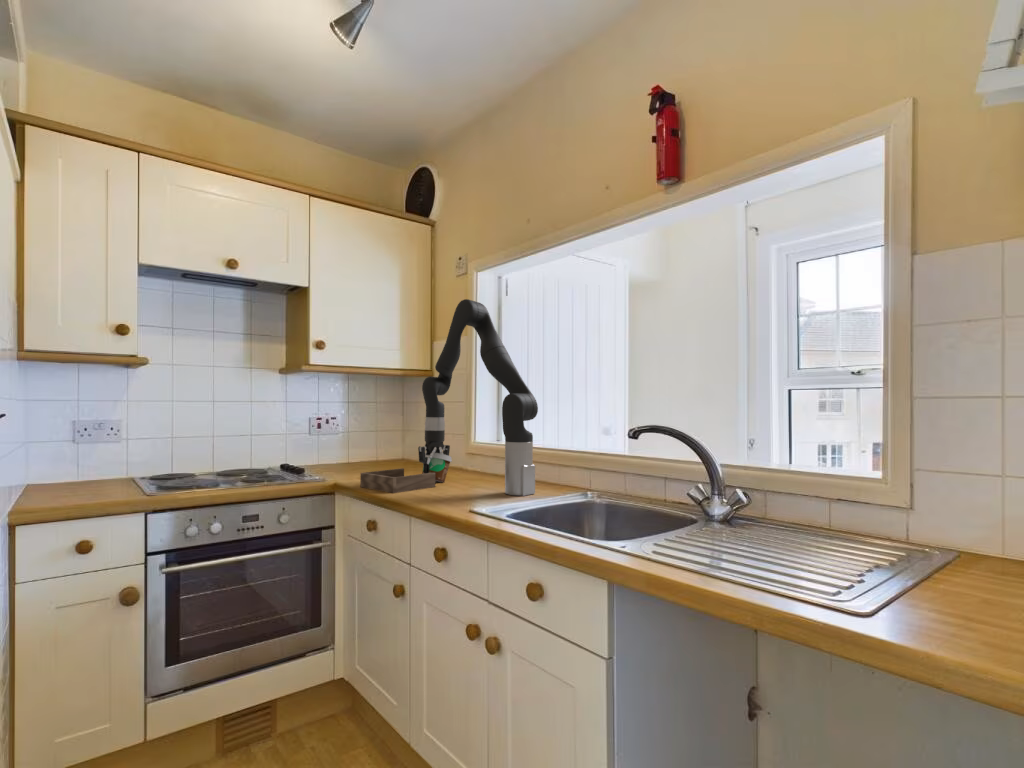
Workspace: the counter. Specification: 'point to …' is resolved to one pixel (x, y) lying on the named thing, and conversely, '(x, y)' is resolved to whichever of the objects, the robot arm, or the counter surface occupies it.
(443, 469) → the food container
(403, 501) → the counter surface
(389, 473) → the walnut box
